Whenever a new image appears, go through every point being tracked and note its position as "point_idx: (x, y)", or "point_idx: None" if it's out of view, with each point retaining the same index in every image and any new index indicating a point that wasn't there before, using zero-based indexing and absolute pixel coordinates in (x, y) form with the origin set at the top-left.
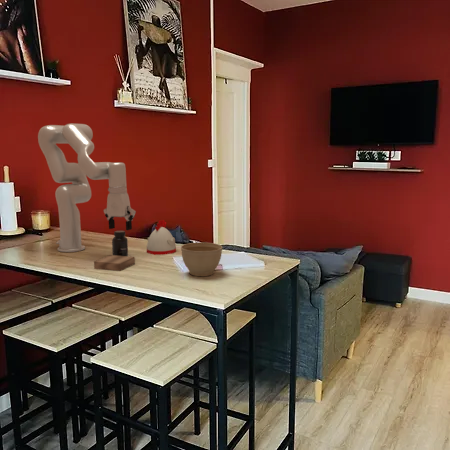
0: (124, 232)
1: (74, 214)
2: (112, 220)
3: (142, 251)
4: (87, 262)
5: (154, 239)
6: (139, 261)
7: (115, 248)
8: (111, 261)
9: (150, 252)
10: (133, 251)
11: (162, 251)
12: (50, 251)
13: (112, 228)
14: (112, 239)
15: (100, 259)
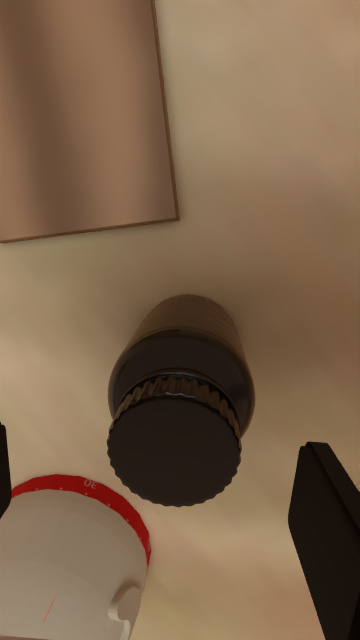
0: (111, 455)
1: None
2: (344, 622)
3: (164, 510)
4: (318, 133)
5: (22, 571)
6: (20, 306)
7: (183, 311)
8: (15, 28)
9: (82, 484)
10: None
11: None
12: None
13: (299, 486)
14: (229, 352)
15: (142, 45)
